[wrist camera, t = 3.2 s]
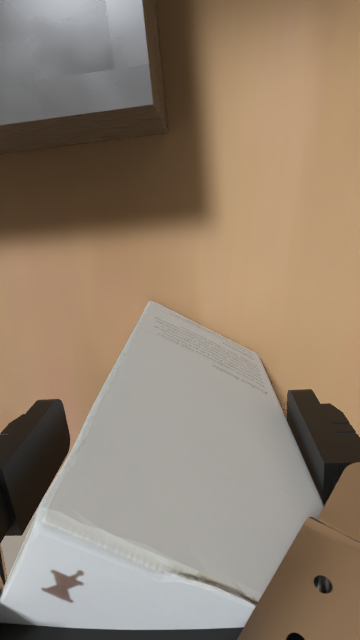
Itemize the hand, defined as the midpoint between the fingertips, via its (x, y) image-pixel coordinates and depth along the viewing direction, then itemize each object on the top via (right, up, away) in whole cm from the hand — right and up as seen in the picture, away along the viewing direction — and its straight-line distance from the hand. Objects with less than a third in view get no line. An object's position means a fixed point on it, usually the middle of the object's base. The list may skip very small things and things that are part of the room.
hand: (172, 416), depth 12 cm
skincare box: (+1, +2, +5) cm, 5 cm away
